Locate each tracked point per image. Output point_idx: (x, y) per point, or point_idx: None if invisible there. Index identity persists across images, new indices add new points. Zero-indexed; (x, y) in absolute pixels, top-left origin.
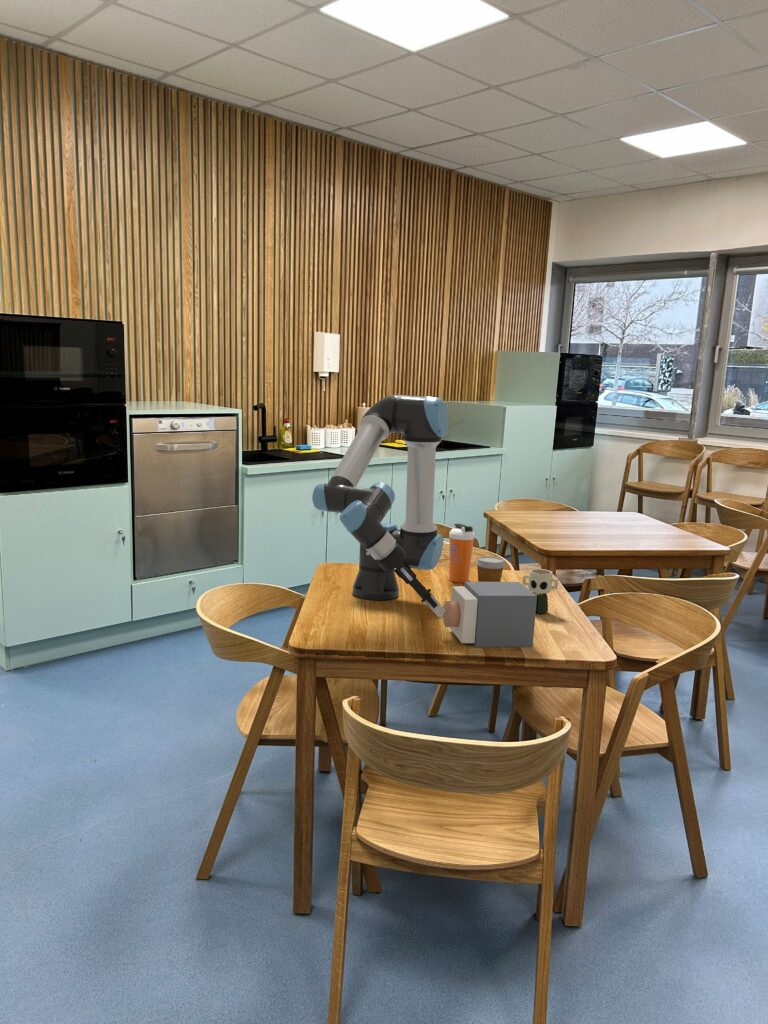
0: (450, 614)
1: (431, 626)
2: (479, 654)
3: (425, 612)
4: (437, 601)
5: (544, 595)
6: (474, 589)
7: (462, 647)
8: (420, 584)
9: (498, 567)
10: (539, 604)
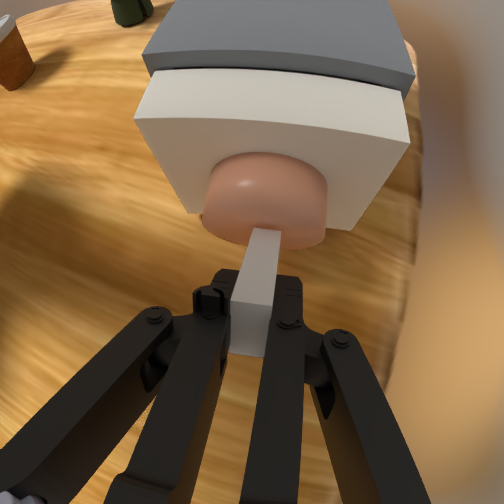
0: (325, 228)
1: (135, 259)
2: (408, 209)
3: (32, 231)
4: (276, 268)
5: None
6: (298, 48)
7: (352, 234)
8: (408, 460)
9: (13, 25)
10: (144, 2)
